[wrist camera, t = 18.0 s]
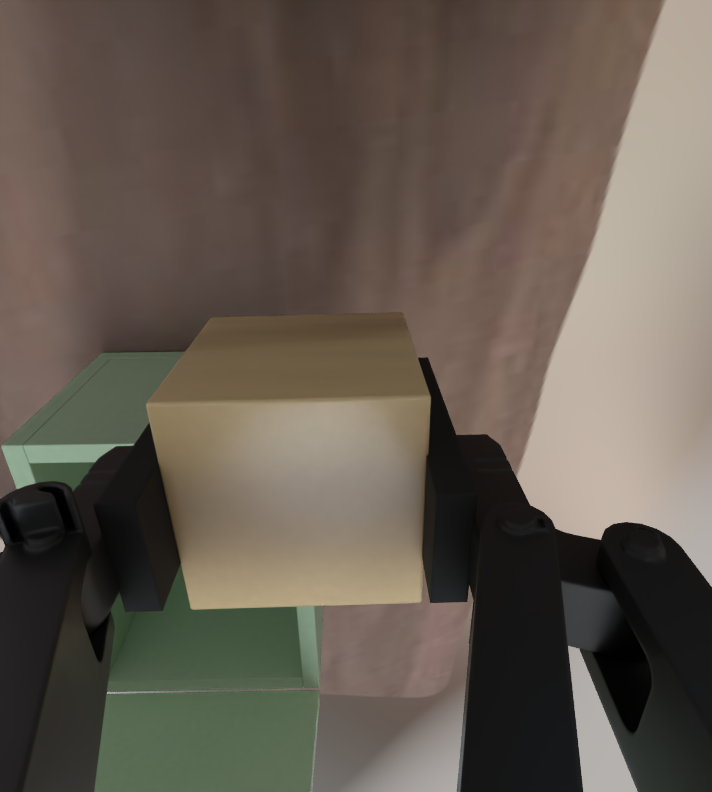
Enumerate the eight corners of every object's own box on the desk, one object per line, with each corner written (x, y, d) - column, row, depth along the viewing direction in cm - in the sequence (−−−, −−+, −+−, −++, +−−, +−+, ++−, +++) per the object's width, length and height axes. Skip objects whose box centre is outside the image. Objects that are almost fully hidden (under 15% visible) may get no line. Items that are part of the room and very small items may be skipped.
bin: (101, 352, 30) (-1, 445, 21) (316, 349, 30) (303, 440, 21) (152, 559, 37) (92, 692, 29) (326, 556, 37) (319, 688, 29)
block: (210, 316, 15) (143, 403, 10) (403, 311, 15) (431, 395, 10) (233, 477, 17) (189, 611, 12) (400, 472, 17) (422, 604, 12)
